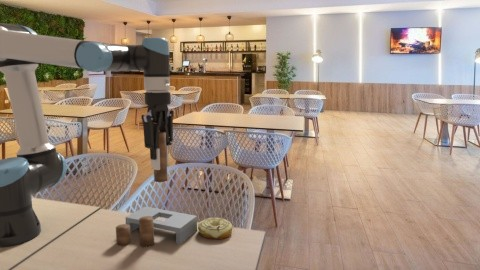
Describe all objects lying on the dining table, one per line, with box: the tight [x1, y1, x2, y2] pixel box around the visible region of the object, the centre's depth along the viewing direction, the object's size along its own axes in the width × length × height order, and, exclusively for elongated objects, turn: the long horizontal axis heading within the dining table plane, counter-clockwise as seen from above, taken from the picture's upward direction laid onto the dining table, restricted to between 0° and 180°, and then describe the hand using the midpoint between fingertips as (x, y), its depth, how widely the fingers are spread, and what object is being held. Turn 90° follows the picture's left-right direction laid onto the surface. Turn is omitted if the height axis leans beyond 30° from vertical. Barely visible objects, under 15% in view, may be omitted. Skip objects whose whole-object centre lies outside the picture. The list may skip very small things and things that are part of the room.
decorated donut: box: [197, 217, 234, 240], centre depth 119 cm, size 10×11×4 cm
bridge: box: [124, 206, 198, 245], centre depth 119 cm, size 20×10×5 cm, turn 67°
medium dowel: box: [138, 216, 155, 248], centre depth 110 cm, size 4×4×8 cm
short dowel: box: [115, 223, 132, 247], centre depth 111 cm, size 4×4×5 cm
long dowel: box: [153, 132, 168, 183], centre depth 115 cm, size 4×4×15 cm
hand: (160, 167), depth 116 cm, fingers closed on long dowel, 4 cm apart
